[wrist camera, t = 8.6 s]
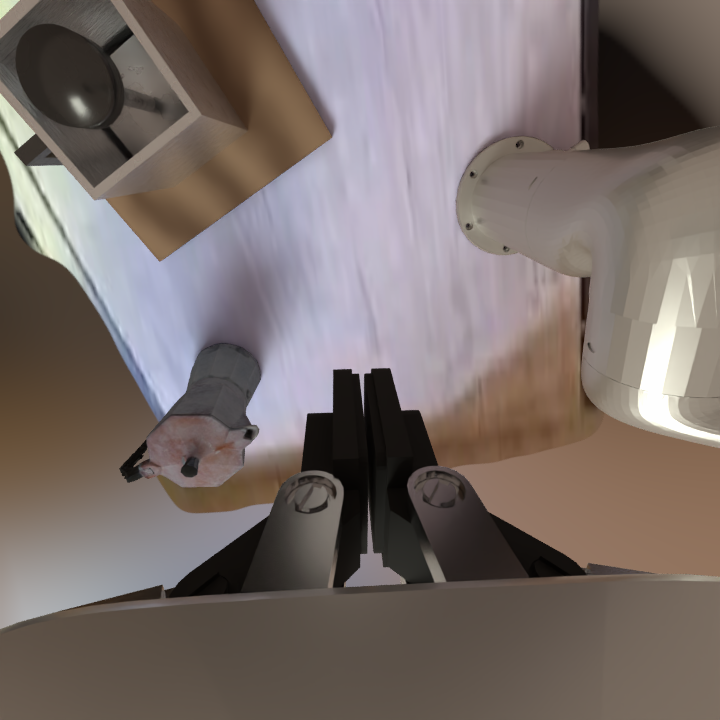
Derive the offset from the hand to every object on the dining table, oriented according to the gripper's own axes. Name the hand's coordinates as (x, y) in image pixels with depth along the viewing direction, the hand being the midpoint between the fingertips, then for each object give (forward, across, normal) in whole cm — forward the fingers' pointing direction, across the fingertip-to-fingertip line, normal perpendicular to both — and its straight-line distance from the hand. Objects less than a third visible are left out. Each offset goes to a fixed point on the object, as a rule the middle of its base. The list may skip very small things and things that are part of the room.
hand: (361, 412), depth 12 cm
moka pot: (+39, +16, +20) cm, 47 cm away
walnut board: (+39, +16, -11) cm, 44 cm away
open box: (+38, +18, -10) cm, 43 cm away
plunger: (+32, +16, -11) cm, 38 cm away
